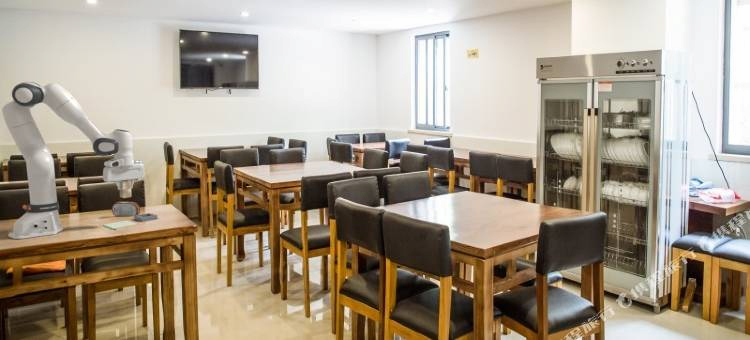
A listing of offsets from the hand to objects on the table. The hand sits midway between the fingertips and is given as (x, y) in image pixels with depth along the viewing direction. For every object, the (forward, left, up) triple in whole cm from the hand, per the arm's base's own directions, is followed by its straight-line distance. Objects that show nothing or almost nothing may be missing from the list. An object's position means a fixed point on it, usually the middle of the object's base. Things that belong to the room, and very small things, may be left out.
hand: (125, 189), depth 278 cm
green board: (-4, -1, -18) cm, 19 cm away
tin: (+8, +18, -19) cm, 27 cm away
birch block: (0, 0, -4) cm, 4 cm away
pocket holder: (+10, 0, -18) cm, 21 cm away
